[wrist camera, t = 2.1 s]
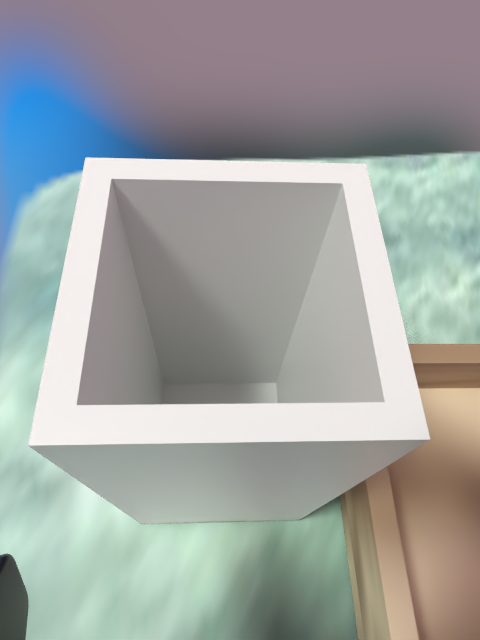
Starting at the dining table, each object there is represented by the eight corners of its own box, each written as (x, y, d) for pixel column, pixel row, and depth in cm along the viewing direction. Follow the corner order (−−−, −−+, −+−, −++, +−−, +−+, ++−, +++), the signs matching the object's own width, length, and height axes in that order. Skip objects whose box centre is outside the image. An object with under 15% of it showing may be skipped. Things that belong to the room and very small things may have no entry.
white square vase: (298, 520, 17) (430, 439, 7) (141, 524, 17) (27, 445, 7) (286, 374, 20) (365, 164, 10) (151, 375, 20) (85, 157, 9)
